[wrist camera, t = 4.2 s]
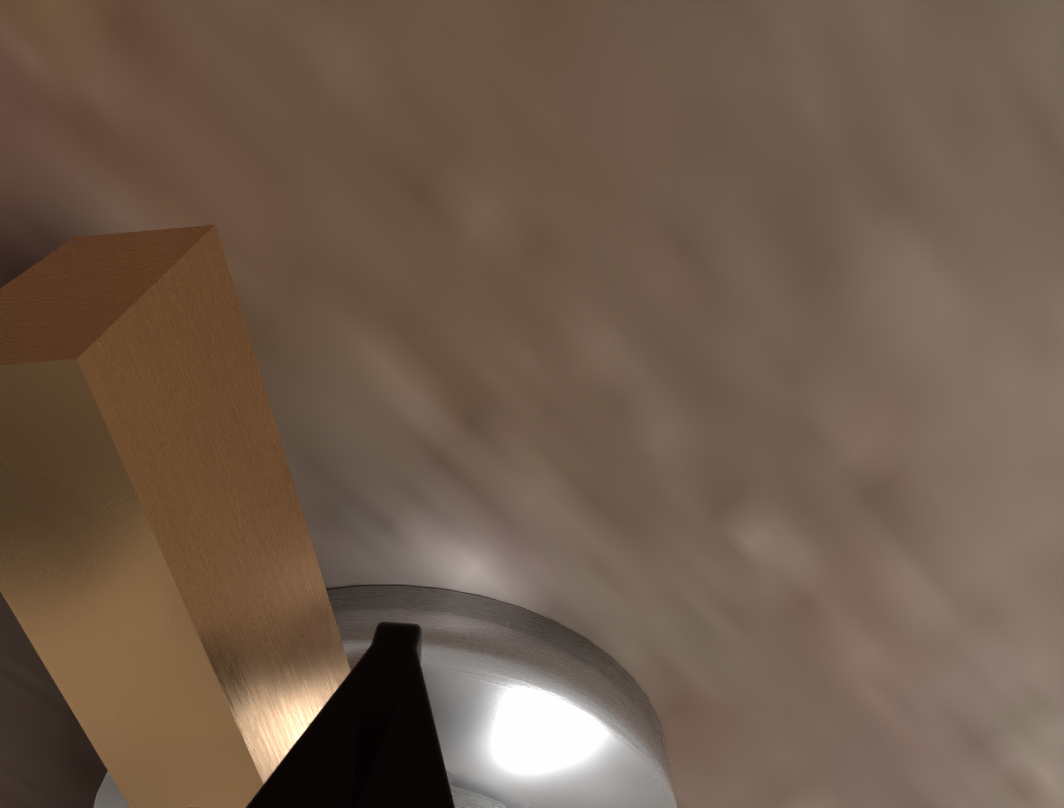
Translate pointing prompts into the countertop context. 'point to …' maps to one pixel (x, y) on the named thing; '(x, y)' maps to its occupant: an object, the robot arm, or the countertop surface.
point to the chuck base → (514, 702)
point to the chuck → (159, 520)
